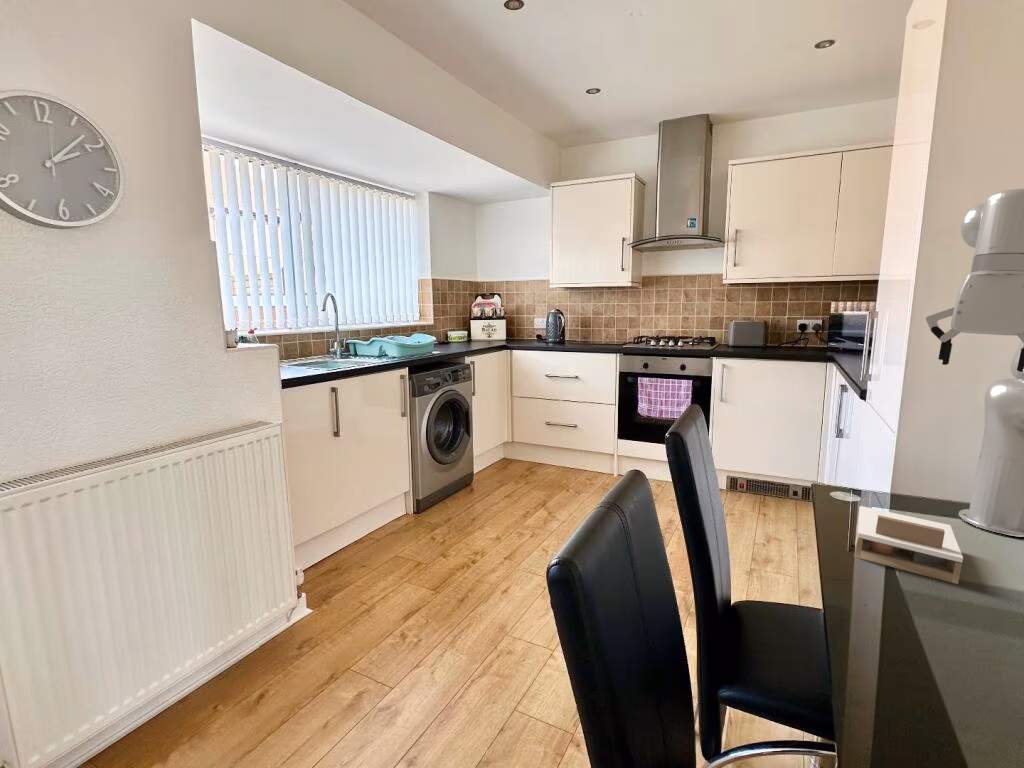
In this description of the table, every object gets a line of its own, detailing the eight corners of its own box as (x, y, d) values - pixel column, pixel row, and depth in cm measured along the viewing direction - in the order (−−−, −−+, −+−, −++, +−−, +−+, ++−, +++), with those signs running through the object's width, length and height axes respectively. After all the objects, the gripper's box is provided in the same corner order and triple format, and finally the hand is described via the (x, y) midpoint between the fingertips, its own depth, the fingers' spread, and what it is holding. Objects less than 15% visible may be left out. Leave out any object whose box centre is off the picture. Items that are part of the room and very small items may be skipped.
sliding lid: (859, 509, 102) (862, 491, 102) (949, 529, 95) (953, 509, 94) (857, 537, 89) (860, 516, 89) (962, 562, 82) (966, 540, 81)
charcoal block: (911, 560, 90) (913, 543, 89) (934, 566, 88) (937, 548, 87) (912, 567, 87) (915, 550, 87) (936, 573, 85) (939, 556, 85)
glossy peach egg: (874, 547, 94) (876, 531, 93) (895, 555, 91) (898, 539, 91) (865, 551, 92) (868, 535, 92) (886, 560, 89) (889, 543, 89)
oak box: (856, 529, 103) (859, 510, 103) (945, 550, 95) (949, 530, 95) (854, 559, 90) (857, 538, 90) (957, 587, 82) (961, 564, 82)
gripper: (1074, 269, 83) (1051, 373, 85) (937, 270, 94) (920, 361, 97) (1079, 264, 77) (1054, 375, 80) (933, 265, 89) (915, 362, 91)
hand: (981, 367), depth 88 cm, fingers open, 9 cm apart
